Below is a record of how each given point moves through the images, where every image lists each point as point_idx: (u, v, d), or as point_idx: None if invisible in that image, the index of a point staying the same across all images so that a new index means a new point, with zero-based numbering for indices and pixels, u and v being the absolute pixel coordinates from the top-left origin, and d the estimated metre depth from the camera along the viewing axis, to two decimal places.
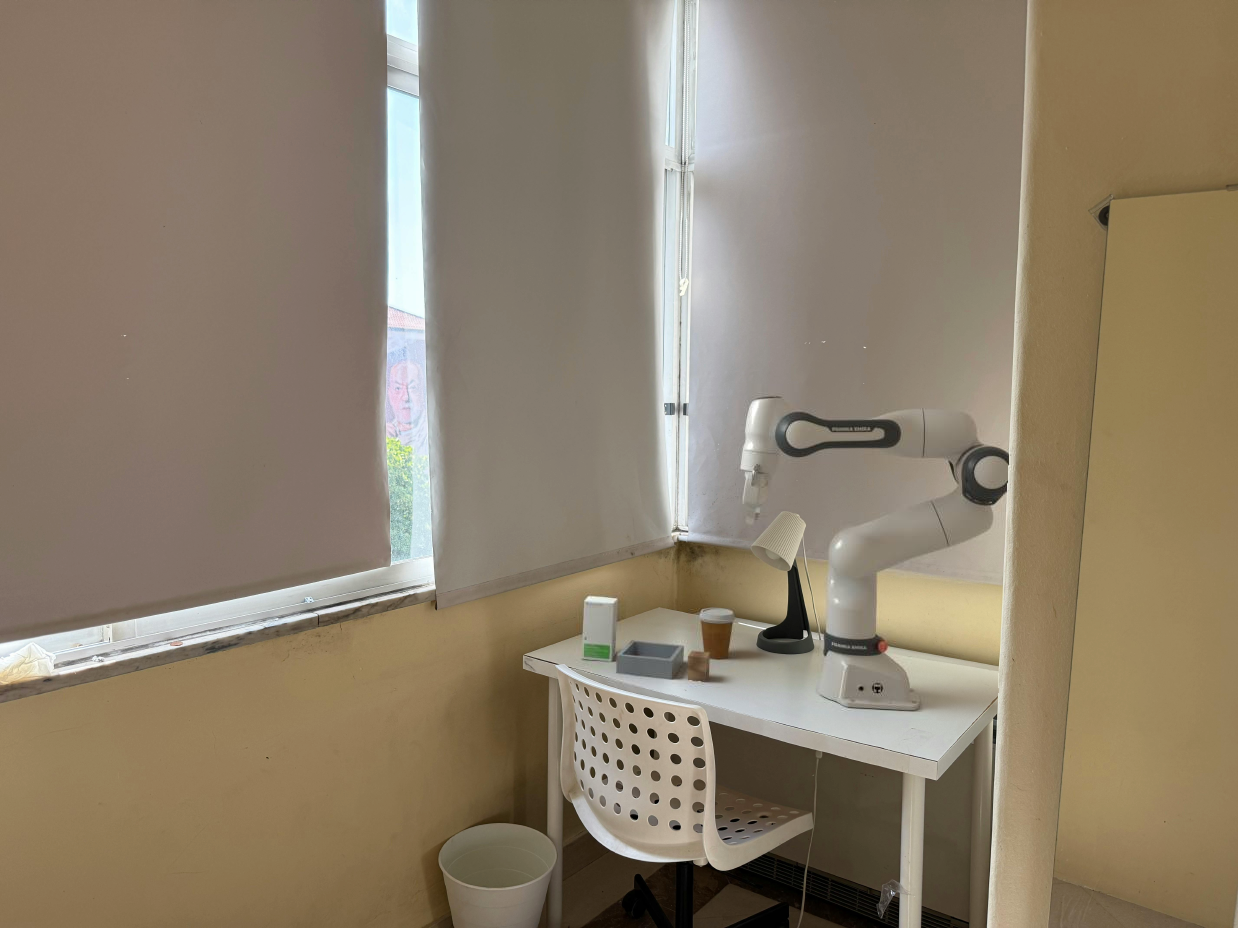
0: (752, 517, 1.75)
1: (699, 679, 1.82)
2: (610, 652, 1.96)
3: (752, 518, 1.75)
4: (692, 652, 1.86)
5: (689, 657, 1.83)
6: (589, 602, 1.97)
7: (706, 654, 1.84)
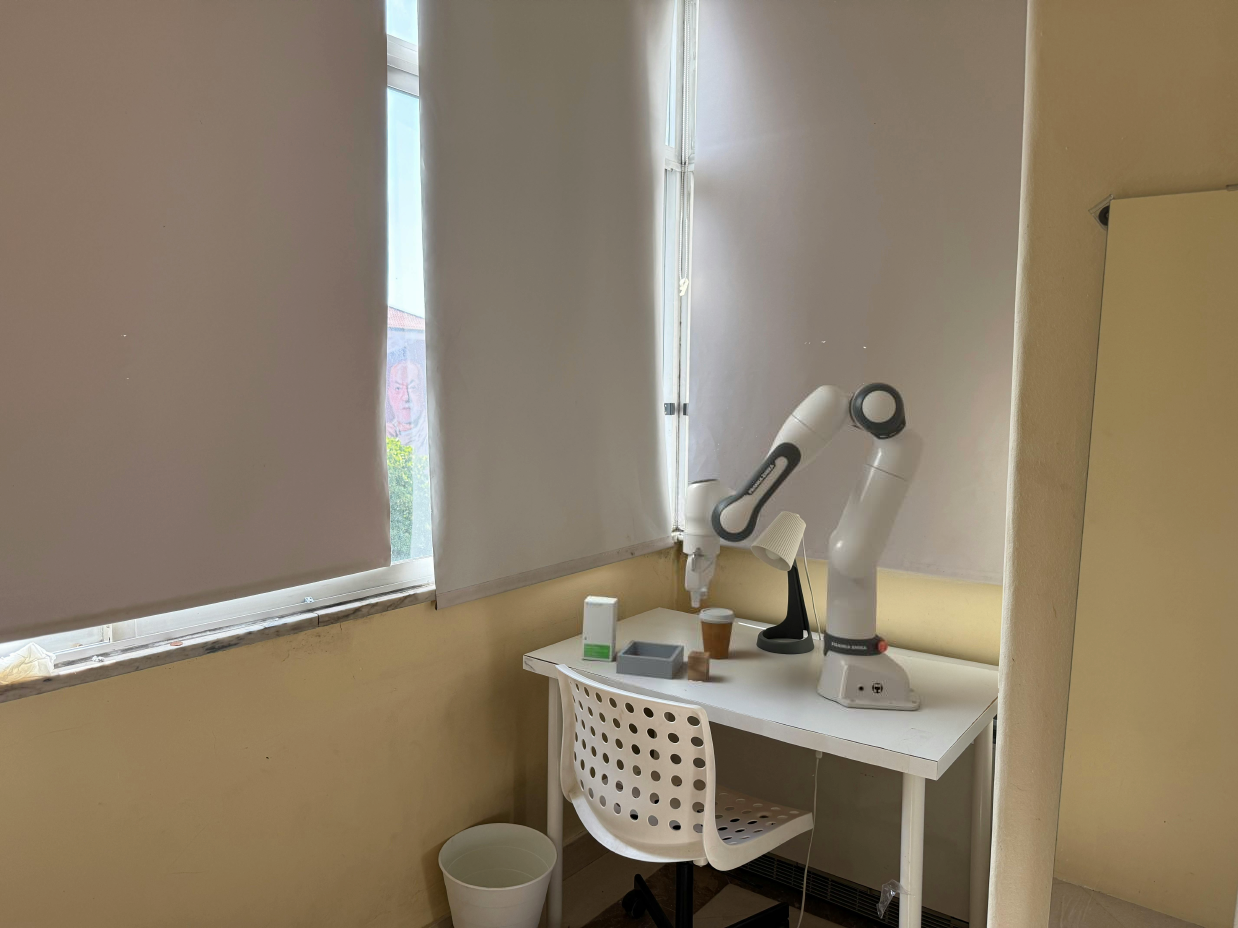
0: (697, 600, 1.78)
1: (699, 679, 1.82)
2: (610, 652, 1.96)
3: (697, 601, 1.78)
4: (692, 652, 1.86)
5: (689, 657, 1.83)
6: (589, 602, 1.97)
7: (706, 654, 1.84)
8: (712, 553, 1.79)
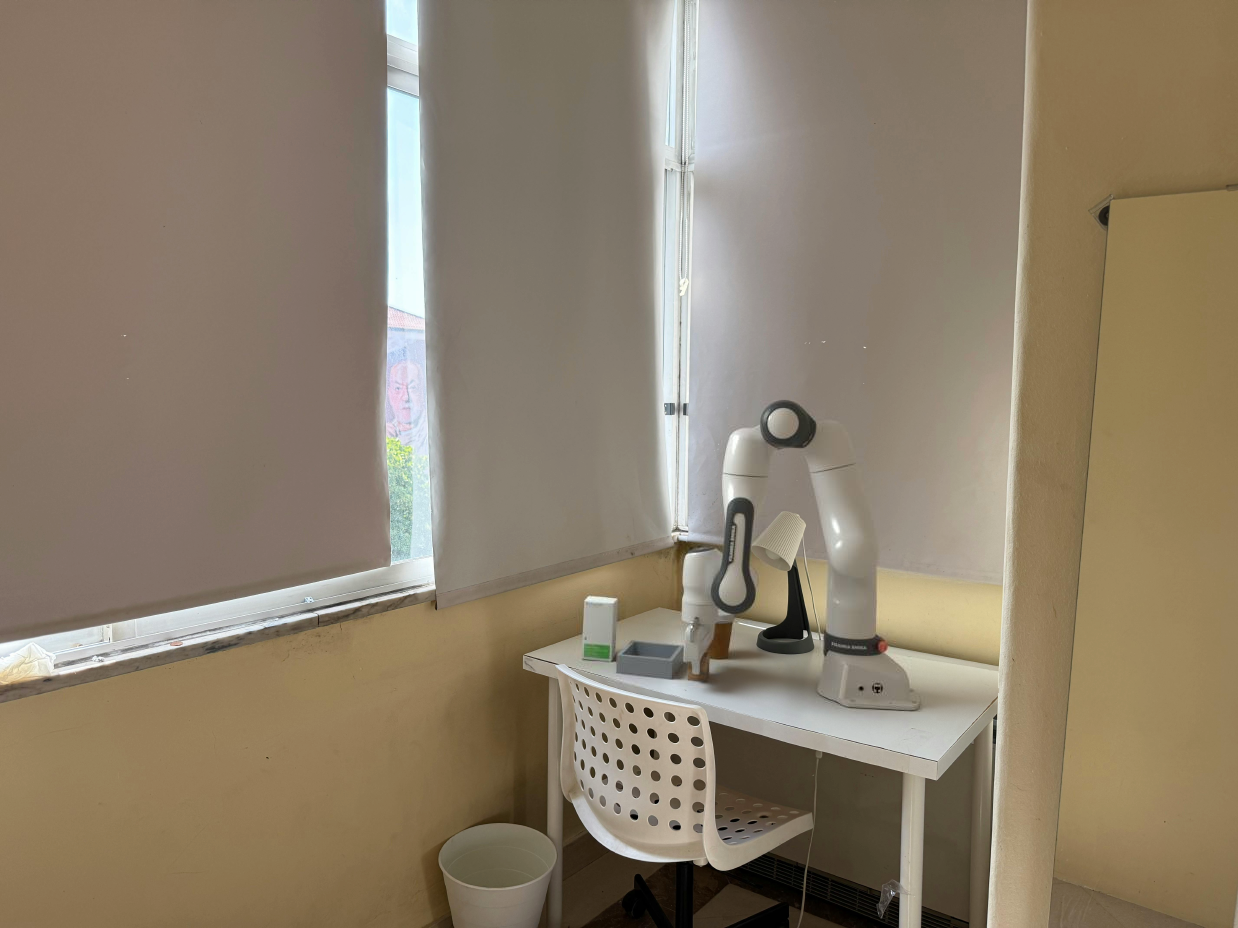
0: (697, 667, 1.81)
1: (699, 679, 1.82)
2: (610, 652, 1.96)
3: (697, 668, 1.81)
4: None
5: None
6: (589, 602, 1.97)
7: (706, 654, 1.84)
8: (710, 622, 1.80)
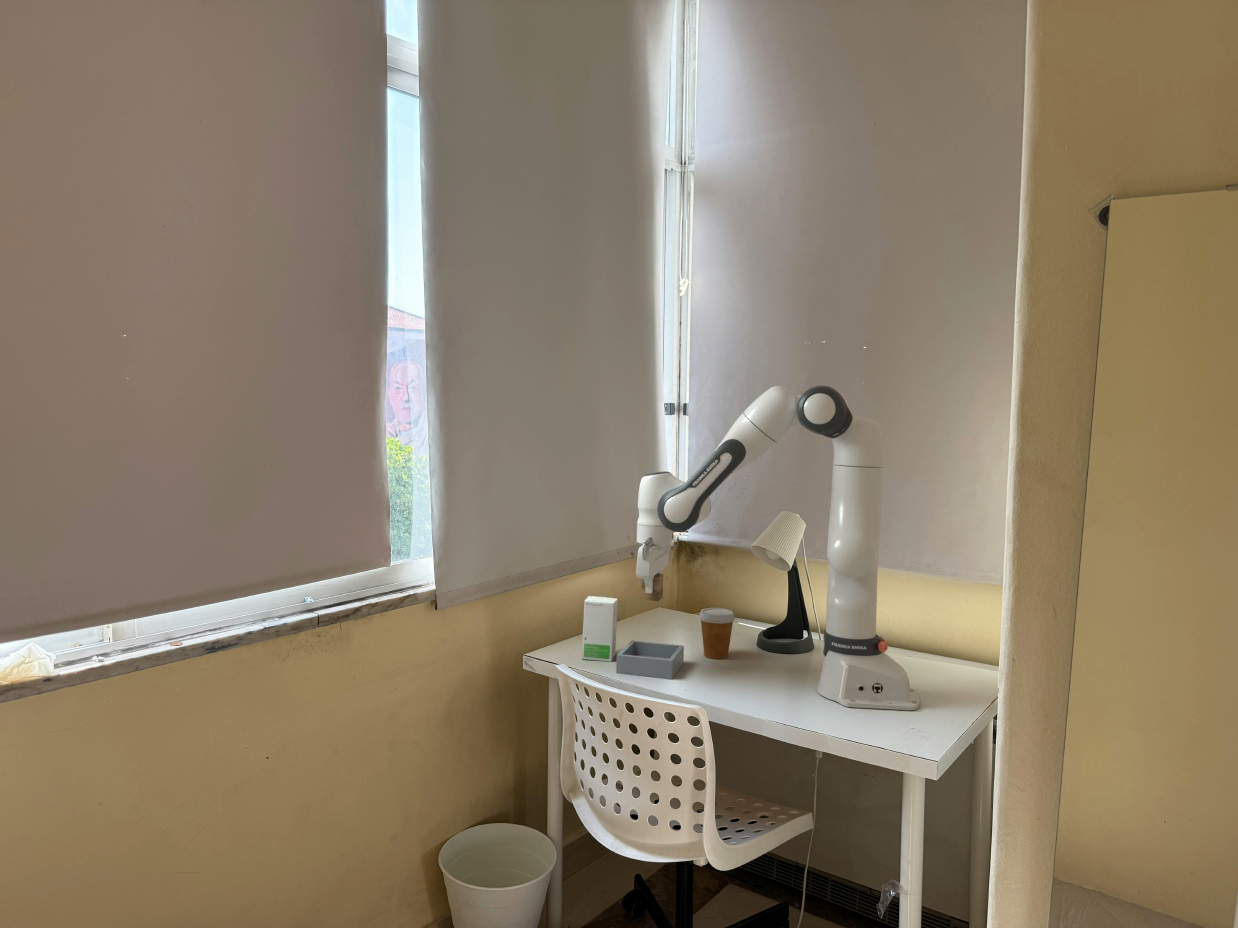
0: (650, 586, 1.87)
1: (652, 598, 1.89)
2: (610, 652, 1.96)
3: (650, 587, 1.87)
4: None
5: None
6: (589, 602, 1.97)
7: (659, 575, 1.91)
8: (663, 543, 1.87)
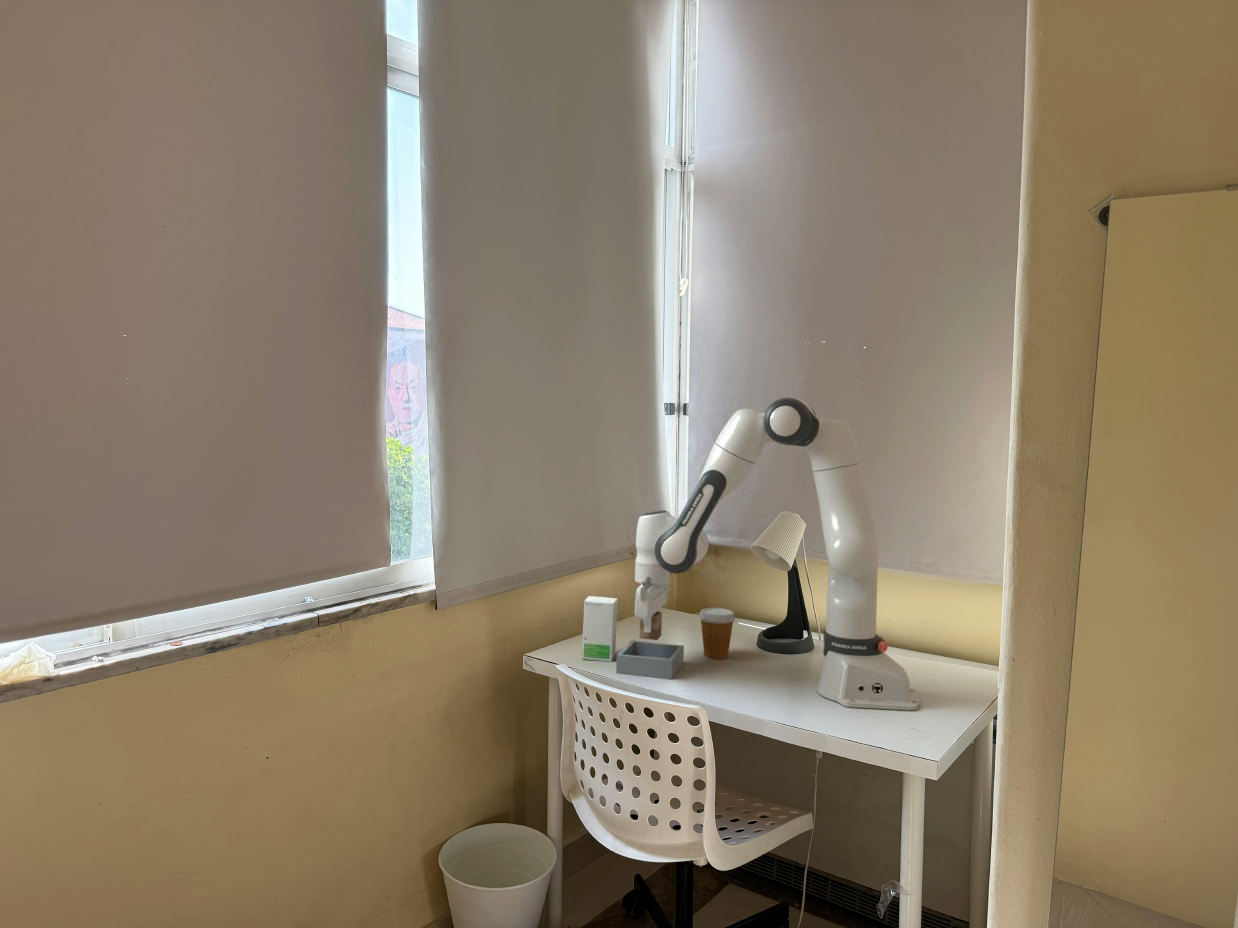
0: (649, 625, 1.88)
1: (650, 637, 1.89)
2: (610, 652, 1.96)
3: (649, 626, 1.88)
4: None
5: None
6: (589, 602, 1.97)
7: (658, 613, 1.92)
8: (662, 582, 1.87)
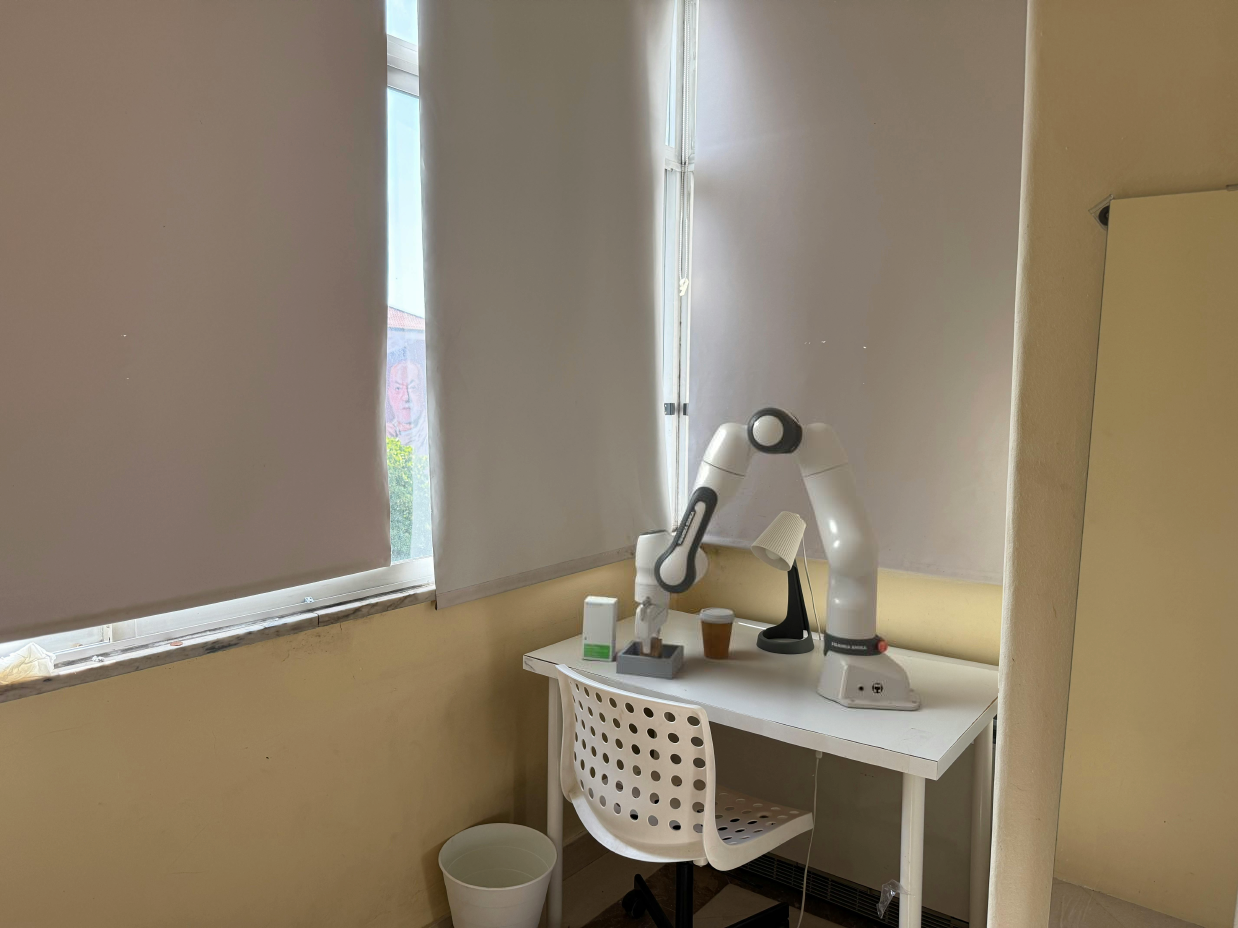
0: (648, 646, 1.87)
1: None
2: (610, 652, 1.96)
3: (648, 647, 1.87)
4: None
5: (641, 643, 1.90)
6: (589, 602, 1.97)
7: (658, 640, 1.92)
8: (661, 602, 1.88)
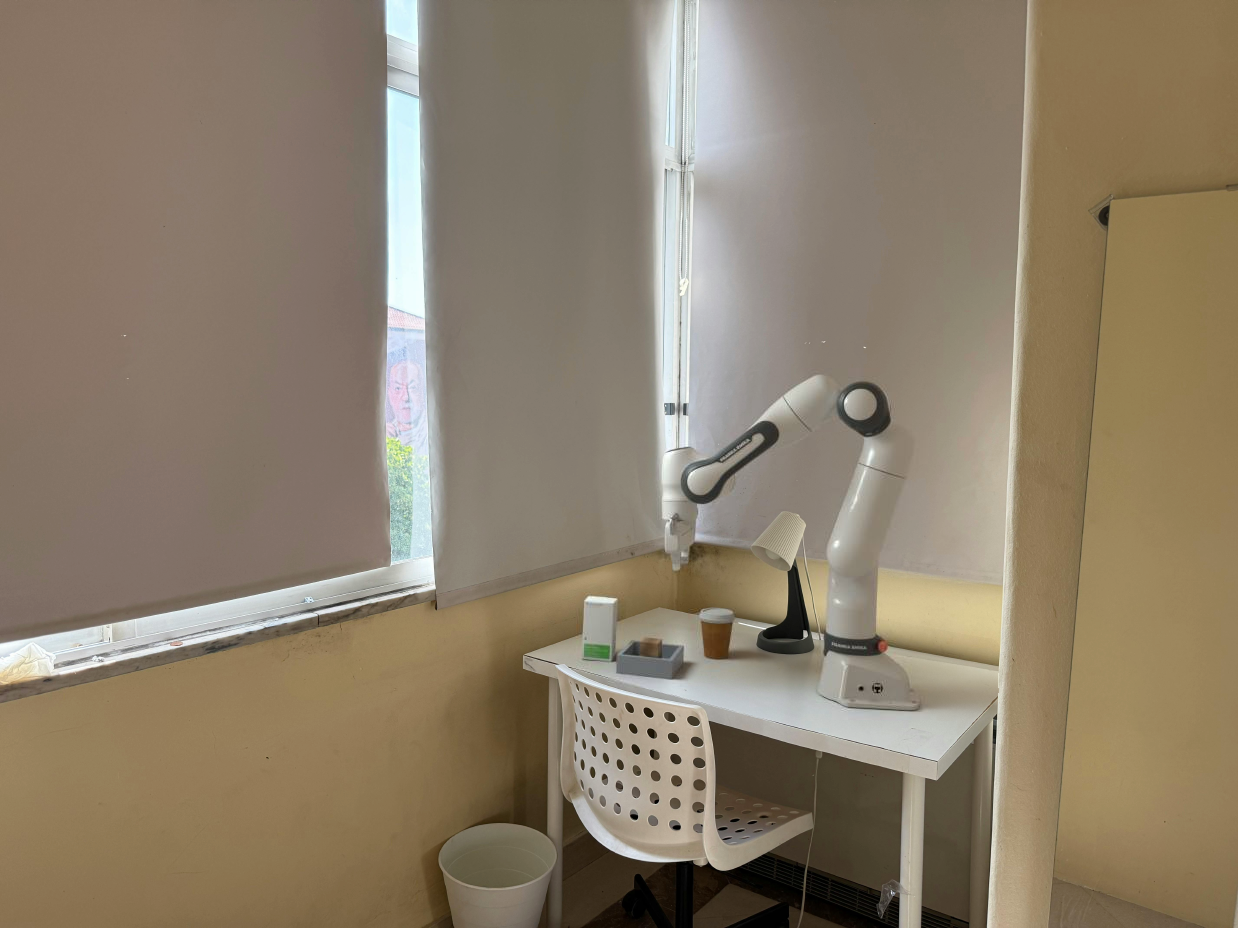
0: (677, 563, 1.85)
1: None
2: (610, 652, 1.96)
3: (678, 564, 1.85)
4: (645, 638, 1.93)
5: (641, 643, 1.90)
6: (589, 602, 1.97)
7: (658, 640, 1.92)
8: (690, 518, 1.87)
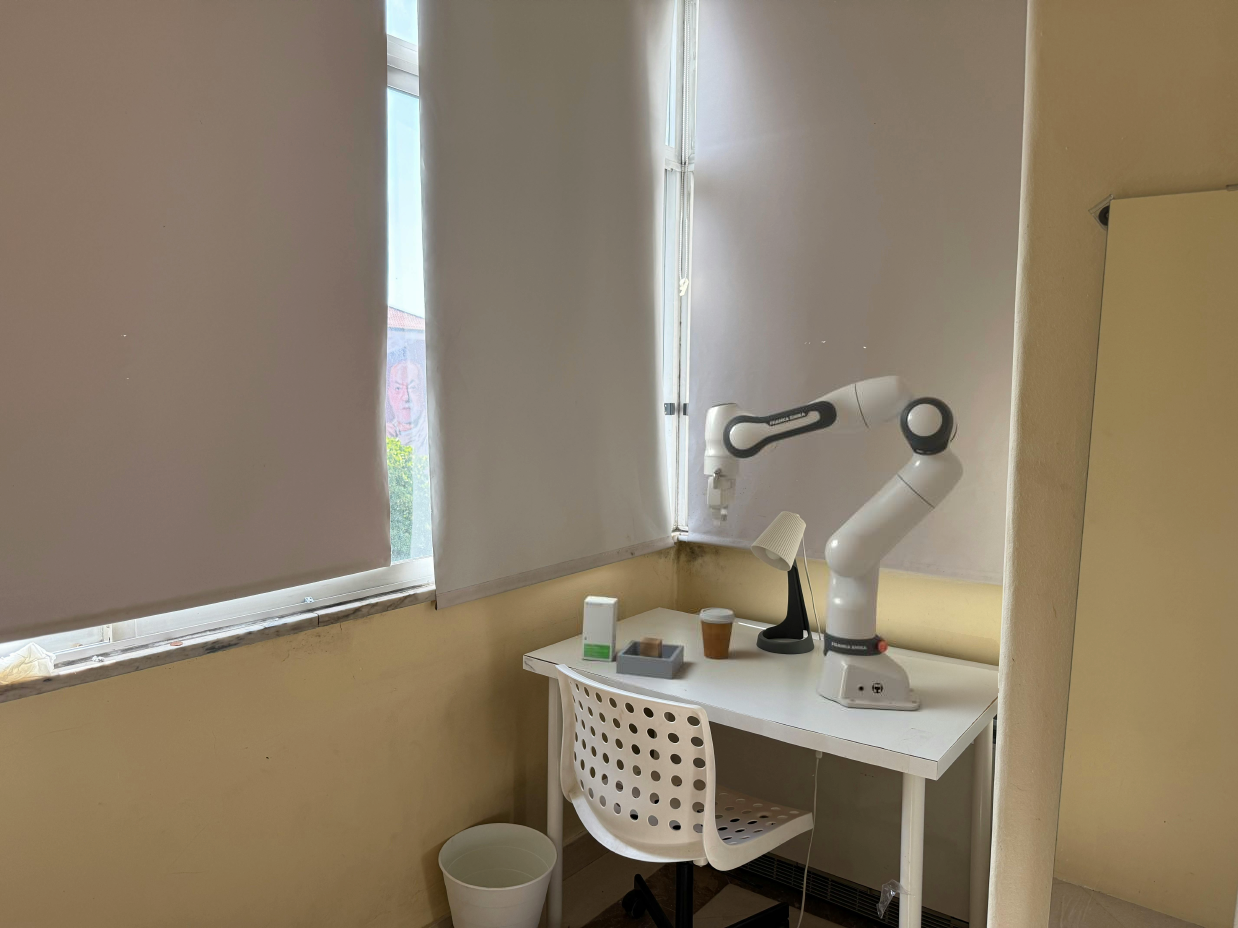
0: (718, 518, 1.85)
1: None
2: (610, 652, 1.96)
3: (718, 519, 1.85)
4: (645, 638, 1.93)
5: (641, 643, 1.90)
6: (589, 602, 1.97)
7: (658, 640, 1.92)
8: (732, 474, 1.86)
